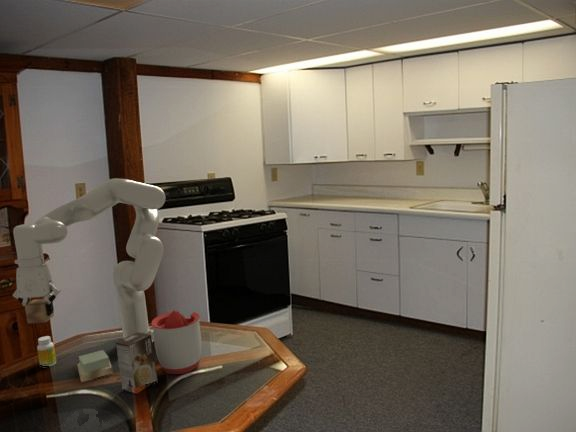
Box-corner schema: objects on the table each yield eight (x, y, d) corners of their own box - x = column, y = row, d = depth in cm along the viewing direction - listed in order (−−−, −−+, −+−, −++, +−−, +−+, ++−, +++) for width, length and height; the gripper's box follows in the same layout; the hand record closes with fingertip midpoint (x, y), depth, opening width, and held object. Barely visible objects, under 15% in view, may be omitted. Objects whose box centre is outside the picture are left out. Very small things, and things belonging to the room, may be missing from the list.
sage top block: (104, 357, 188) (103, 349, 187) (109, 365, 181) (108, 357, 180) (80, 364, 184) (78, 356, 183) (85, 373, 177) (83, 364, 176)
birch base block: (108, 364, 189) (107, 356, 189) (113, 375, 180) (112, 367, 180) (78, 372, 185) (77, 363, 184) (81, 384, 176) (80, 375, 176)
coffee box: (143, 378, 176) (137, 331, 173) (158, 381, 172) (152, 334, 169) (121, 391, 168) (115, 342, 165) (136, 395, 165) (129, 345, 162)
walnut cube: (27, 323, 176) (24, 305, 175) (36, 316, 182) (33, 299, 181) (45, 322, 176) (43, 304, 175) (54, 315, 182) (51, 298, 181)
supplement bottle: (50, 367, 188) (46, 341, 187) (36, 367, 190) (32, 341, 188) (59, 361, 194) (55, 335, 192) (46, 360, 195) (42, 335, 193)
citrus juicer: (214, 356, 188) (209, 301, 184) (190, 380, 172) (183, 320, 168) (175, 353, 193) (169, 299, 189) (147, 376, 177) (140, 317, 173)
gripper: (-1, 267, 172) (8, 321, 176) (52, 263, 172) (61, 317, 175) (11, 260, 180) (20, 312, 183) (62, 257, 179) (70, 309, 182)
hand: (40, 314), depth 179 cm, fingers closed on walnut cube, 6 cm apart
